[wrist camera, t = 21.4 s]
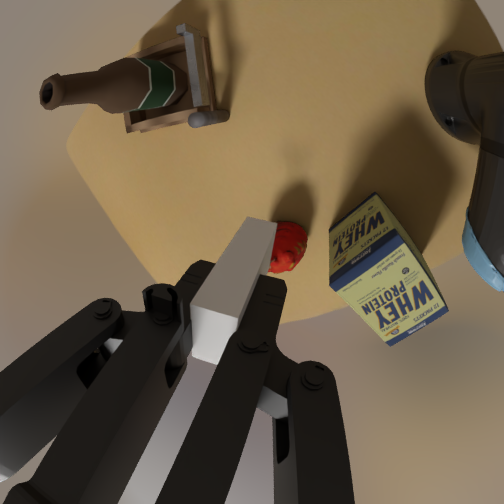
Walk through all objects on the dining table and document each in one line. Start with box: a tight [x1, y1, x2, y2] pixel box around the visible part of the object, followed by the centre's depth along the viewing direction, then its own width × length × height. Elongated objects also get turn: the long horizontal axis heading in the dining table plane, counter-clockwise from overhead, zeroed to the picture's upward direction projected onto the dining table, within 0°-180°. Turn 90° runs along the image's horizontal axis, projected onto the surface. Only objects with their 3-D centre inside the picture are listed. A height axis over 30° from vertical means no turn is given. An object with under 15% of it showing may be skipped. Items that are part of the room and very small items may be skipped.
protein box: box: [329, 192, 449, 346], centre depth 36 cm, size 10×16×16 cm
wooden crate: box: [123, 36, 230, 133], centre depth 33 cm, size 16×15×10 cm
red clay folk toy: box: [268, 221, 308, 274], centre depth 40 cm, size 8×7×15 cm
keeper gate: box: [176, 23, 210, 107], centre depth 27 cm, size 12×1×4 cm, turn 7°
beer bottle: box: [40, 58, 188, 114], centre depth 26 cm, size 8×8×24 cm
